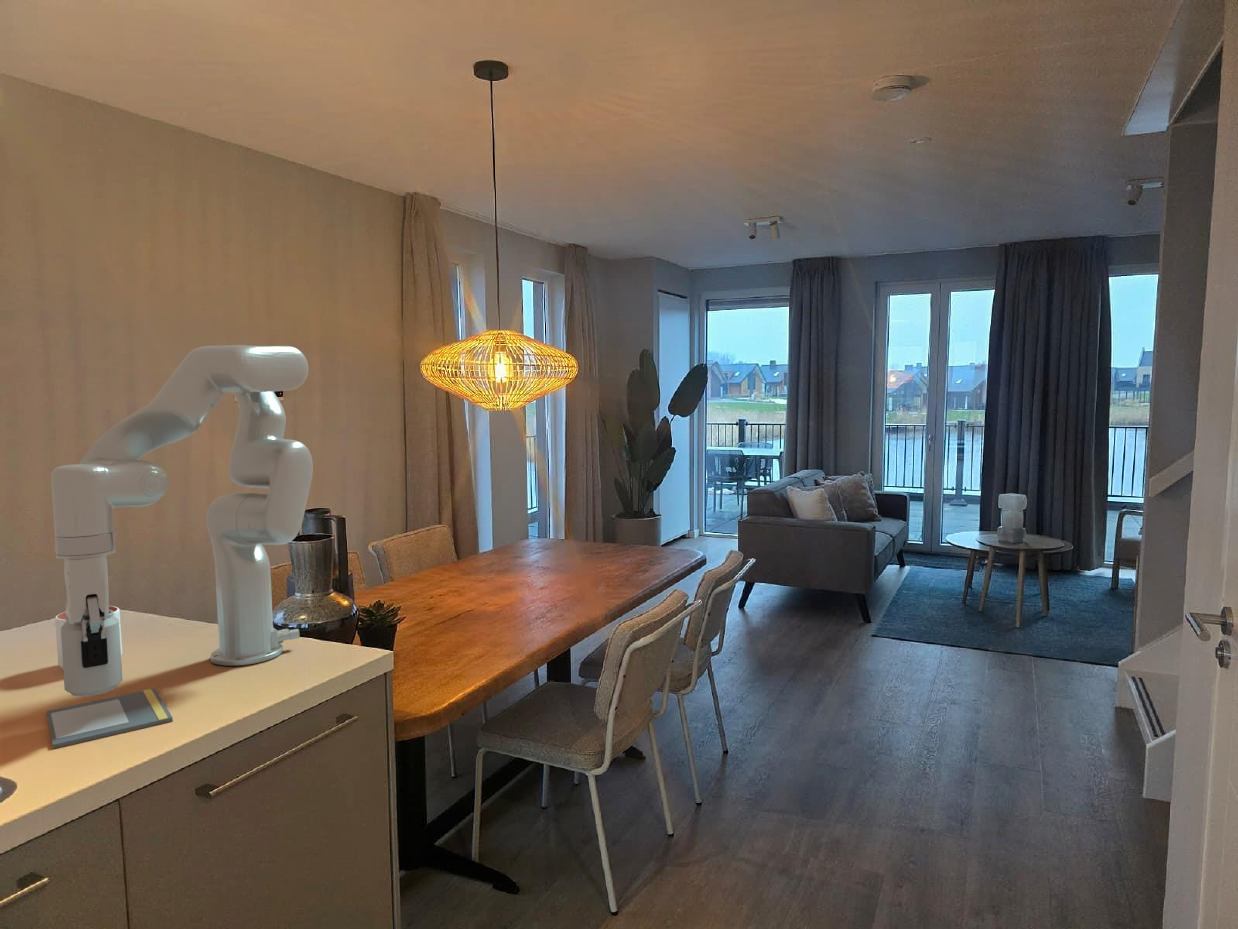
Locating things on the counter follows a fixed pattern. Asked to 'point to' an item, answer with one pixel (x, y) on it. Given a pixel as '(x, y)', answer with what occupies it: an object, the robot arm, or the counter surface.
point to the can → (98, 676)
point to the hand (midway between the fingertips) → (92, 658)
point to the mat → (106, 717)
